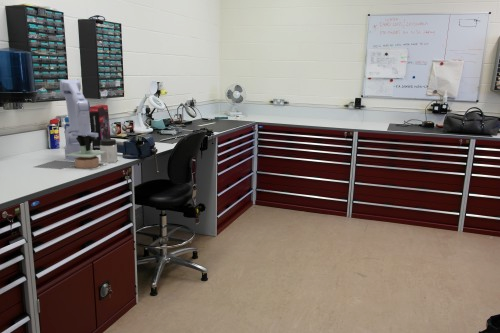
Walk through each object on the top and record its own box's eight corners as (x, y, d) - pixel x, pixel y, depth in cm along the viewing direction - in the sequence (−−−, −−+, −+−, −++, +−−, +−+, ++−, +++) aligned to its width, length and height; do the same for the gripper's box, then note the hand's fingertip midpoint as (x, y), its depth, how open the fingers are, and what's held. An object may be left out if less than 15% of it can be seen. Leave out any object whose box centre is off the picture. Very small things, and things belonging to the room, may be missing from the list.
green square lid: (65, 156, 210) (65, 147, 209) (83, 151, 223) (82, 142, 222) (90, 157, 207) (89, 148, 206) (106, 152, 220) (105, 144, 219)
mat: (32, 168, 212) (32, 167, 212) (55, 161, 228) (55, 160, 228) (61, 170, 208) (61, 169, 208) (82, 163, 224) (82, 162, 224)
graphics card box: (102, 150, 261) (99, 106, 255) (91, 150, 261) (87, 106, 255) (111, 145, 277) (108, 104, 271) (101, 145, 278) (98, 104, 271)
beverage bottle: (75, 146, 273) (72, 116, 269) (82, 147, 268) (80, 116, 264) (63, 148, 266) (60, 117, 262) (70, 149, 262) (67, 118, 257)
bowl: (71, 168, 212) (70, 159, 211) (84, 163, 223) (83, 155, 222) (90, 169, 210) (89, 160, 209) (102, 164, 220) (102, 156, 219)
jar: (103, 163, 223) (101, 141, 220) (99, 161, 229) (97, 139, 227) (119, 162, 228) (118, 140, 225) (115, 159, 234) (114, 138, 232)
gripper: (66, 124, 209) (68, 151, 212) (91, 125, 206) (93, 152, 209) (75, 122, 216) (77, 148, 219) (99, 123, 213) (101, 150, 216)
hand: (86, 150), depth 214 cm, fingers closed on green square lid
